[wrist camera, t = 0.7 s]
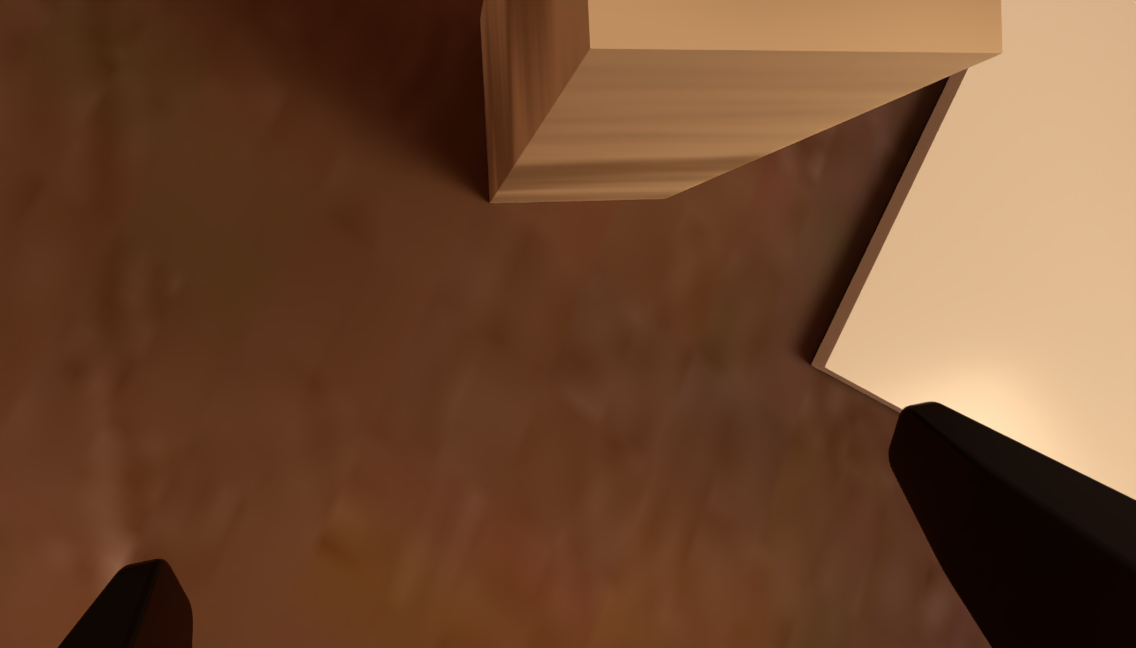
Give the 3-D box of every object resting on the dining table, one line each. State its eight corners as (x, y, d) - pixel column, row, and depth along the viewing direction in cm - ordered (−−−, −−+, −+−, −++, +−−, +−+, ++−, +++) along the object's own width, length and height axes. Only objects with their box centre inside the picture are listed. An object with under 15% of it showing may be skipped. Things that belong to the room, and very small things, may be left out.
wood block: (664, 198, 22) (1002, 53, 9) (490, 203, 21) (590, 48, 8) (657, 21, 22) (990, -384, 9) (480, 18, 21) (568, -438, 8)
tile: (1180, 564, 25) (1204, 573, 25) (810, 364, 23) (824, 367, 22) (1356, 167, 26) (1385, 163, 26) (1019, -70, 24) (1040, -83, 23)
